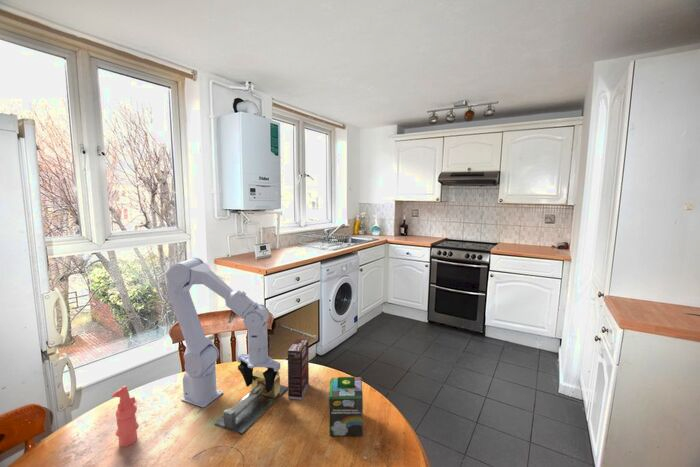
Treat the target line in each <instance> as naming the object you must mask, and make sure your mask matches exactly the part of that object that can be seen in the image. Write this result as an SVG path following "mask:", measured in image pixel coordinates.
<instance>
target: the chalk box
mask: <svg viewBox="0 0 700 467" xmlns="http://www.w3.org/2000/svg"><path fill="white" fill-rule="evenodd" d="M362 379H363V377H361V376H338V377H332V378H330V381H329V391H328V418H329V420H328V424H329V436H330V437H334V436H335V437H341V436H342V437H343V436H344V437H363V435H364V423H363V422H364V421H363V420H364V411H363V410H364V408H363V407H364V404H363V403H364V401H363V400H364V395H363V380H362Z"/></svg>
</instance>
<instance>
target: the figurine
mask: <svg viewBox="0 0 700 467" xmlns="http://www.w3.org/2000/svg"><path fill="white" fill-rule="evenodd" d="M111 398H119V403H118V404H117V409H116V411H115V417H116V426H117V429H116V430H115V436H116V437H118V438H117V439H118V446H119V447H122V448H125V447H129V446H131V445H133V444H134V443H135V442H136V441H137V439H138V431H137V430H138V429H139V428H140V424H139V423H138V422H137V421H138V420H137V417H136V413H137V409H138V408H137V405H136V402H137V401H136V397H135V396H130V393H129V390H128V385H123V386H122V387H121V388H119V389H118V390H116V391H115V392H114V393H112V395H111Z"/></svg>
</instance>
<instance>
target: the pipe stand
mask: <svg viewBox="0 0 700 467" xmlns="http://www.w3.org/2000/svg"><path fill="white" fill-rule="evenodd" d="M276 375H277V376H280V372H279V371H278V372H277V374H276ZM264 391H266V382H264V381H261V382H260V383H259V384H258V385H257V386H256V387H255V388H254V389H253V390H252V389H251V390H250V391H249V392H248V393H247V394H246V395H244V396H243V397H242V398H241V399H239V400H238V402H236V403H234V405H233V406H231V407H230V408H225V410H223V415H222V416H221V417H220V418H219V419H217V420H216V422H214V425H215V426H217V427H220V428H223V429H225V430H228V431H231V432H233V433H237V434H240V435H244V434H245V433H246V431H247V430H248V429H249V428H250V427H252V425H253V424H254V423H256V421H257V420H259V419H260V417H262V415H264V414H265V412H266V411H267V410H268V409H269V408H270V407H271V406H272V405H273V404H274V403H275V402H276V401H277V400H278V399H279V398H280V397H281V396H282V395H283V394H284V393H285V392H286V391H288V386H286V385H282V384H280V393H279V394H278V395H277V396H276V397H275V398H272V397H269V396H266V395H262V393H263V392H264Z"/></svg>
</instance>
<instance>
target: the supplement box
mask: <svg viewBox="0 0 700 467" xmlns="http://www.w3.org/2000/svg"><path fill="white" fill-rule="evenodd" d="M309 341H310V340H309V339H301V338H300V339H297V338H296V339H295V340H294V342H293V343H292V344H291V346H290V347H289V349H288V350H287V387H288V389H287V398H288V399H289V400H291V399H292V400H299V401H300V400H301V401H302V400H303V398H304V396H305V392H306V391H307V389H308V387H309V384H310V383H309V381H310V380H309V379H310V378H309V377H310V376H309V375H310V374H309V369H310V368H309V365H310V364H309V363H310V362H309V357H310V356H309Z"/></svg>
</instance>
